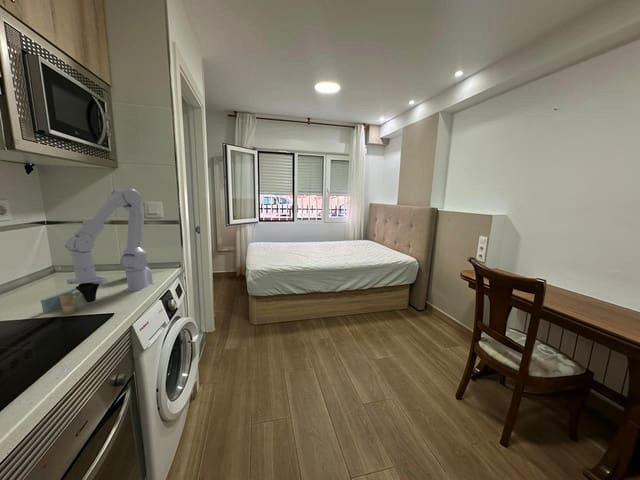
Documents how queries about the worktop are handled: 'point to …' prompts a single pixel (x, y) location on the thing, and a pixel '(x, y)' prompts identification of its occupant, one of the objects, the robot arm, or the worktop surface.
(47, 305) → the backstop wall
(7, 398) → the worktop surface
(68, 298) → the dowel
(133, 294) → the worktop surface
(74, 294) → the socket block
